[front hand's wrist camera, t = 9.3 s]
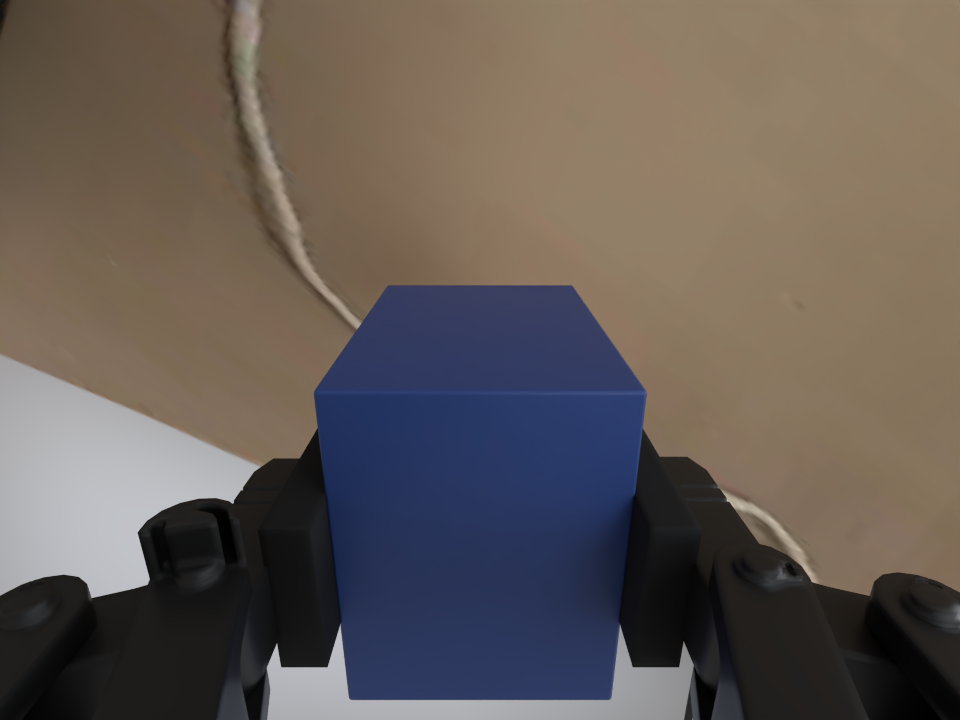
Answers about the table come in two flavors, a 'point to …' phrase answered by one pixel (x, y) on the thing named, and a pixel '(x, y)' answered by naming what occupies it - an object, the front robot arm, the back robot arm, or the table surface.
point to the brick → (480, 494)
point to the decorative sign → (0, 1)
